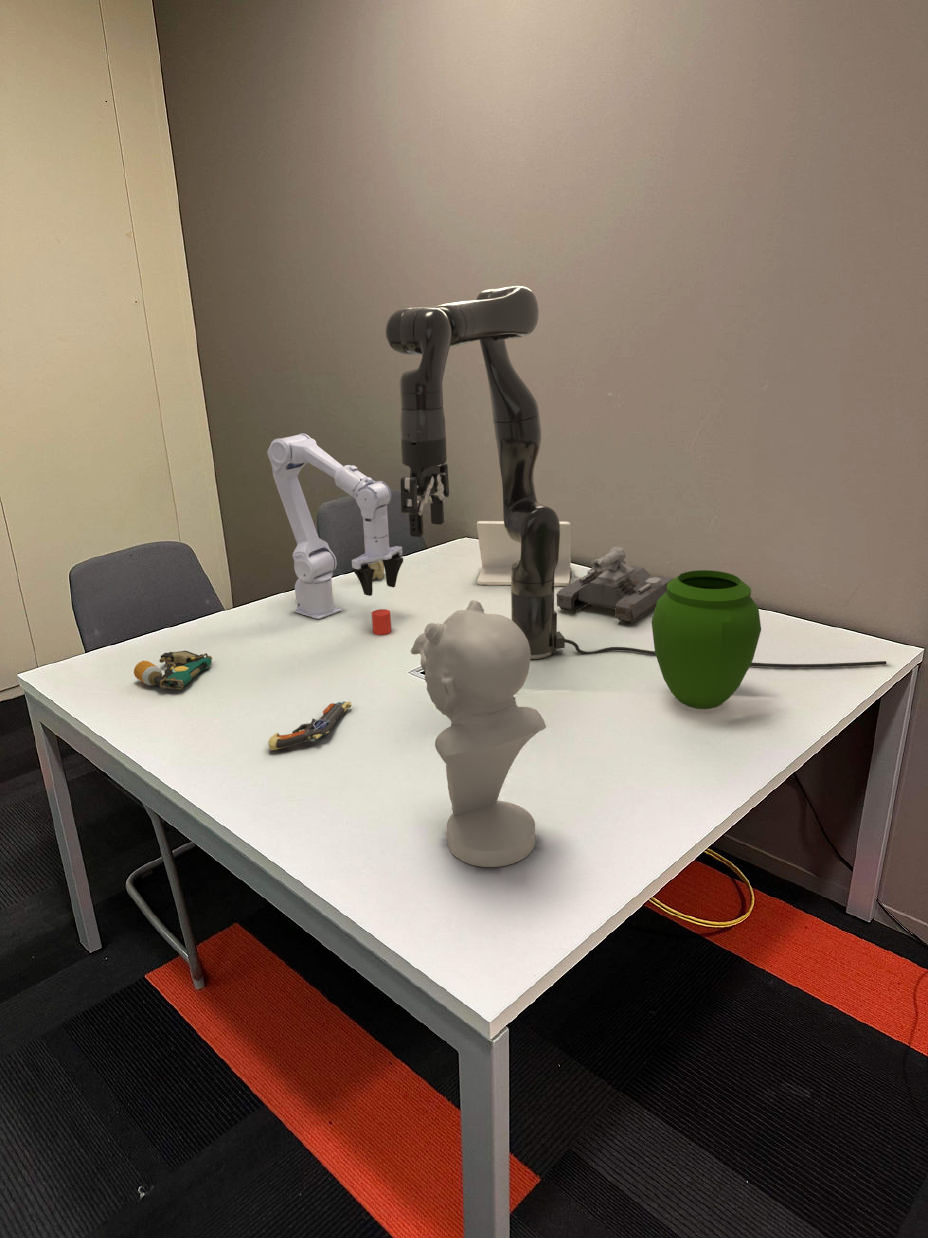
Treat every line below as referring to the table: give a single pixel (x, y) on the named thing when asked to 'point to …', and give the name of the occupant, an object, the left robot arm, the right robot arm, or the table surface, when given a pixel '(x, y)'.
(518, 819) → the bust sculpture
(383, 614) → the canister
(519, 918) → the table surface
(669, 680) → the vase
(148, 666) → the spray gun
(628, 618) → the toy
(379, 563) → the sculpture
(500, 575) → the tablet stand
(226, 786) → the table surface
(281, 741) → the toy gun
